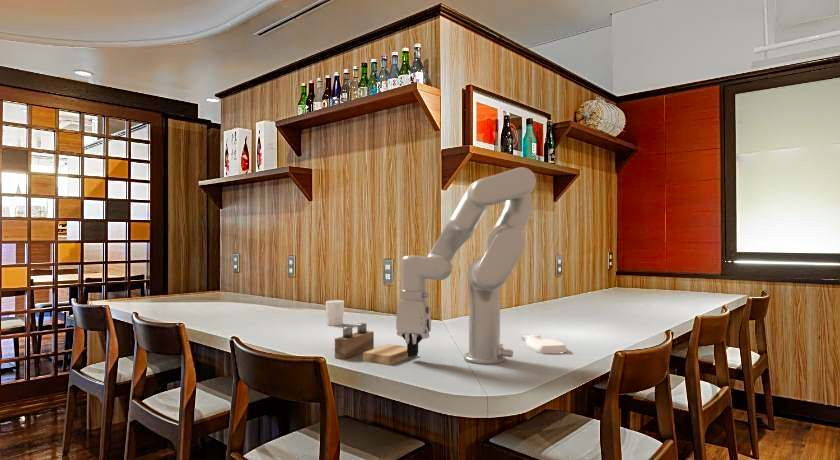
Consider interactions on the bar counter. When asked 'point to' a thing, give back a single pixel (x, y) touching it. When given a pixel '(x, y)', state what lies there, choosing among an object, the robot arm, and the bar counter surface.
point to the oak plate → (386, 354)
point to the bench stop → (354, 342)
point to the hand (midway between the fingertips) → (412, 356)
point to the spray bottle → (544, 344)
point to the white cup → (334, 312)
